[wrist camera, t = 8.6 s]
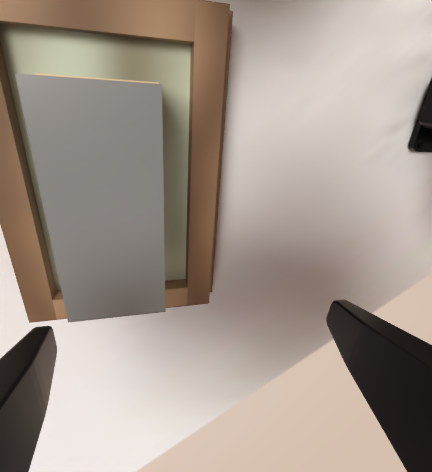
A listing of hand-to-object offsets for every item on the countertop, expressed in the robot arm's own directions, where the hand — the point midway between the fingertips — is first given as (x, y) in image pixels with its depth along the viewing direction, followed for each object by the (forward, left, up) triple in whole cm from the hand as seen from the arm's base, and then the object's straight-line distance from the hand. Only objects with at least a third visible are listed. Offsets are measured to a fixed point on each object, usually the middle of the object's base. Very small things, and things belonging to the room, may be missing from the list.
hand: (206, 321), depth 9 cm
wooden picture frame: (+3, -2, -12) cm, 12 cm away
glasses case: (+3, -2, -10) cm, 10 cm away
